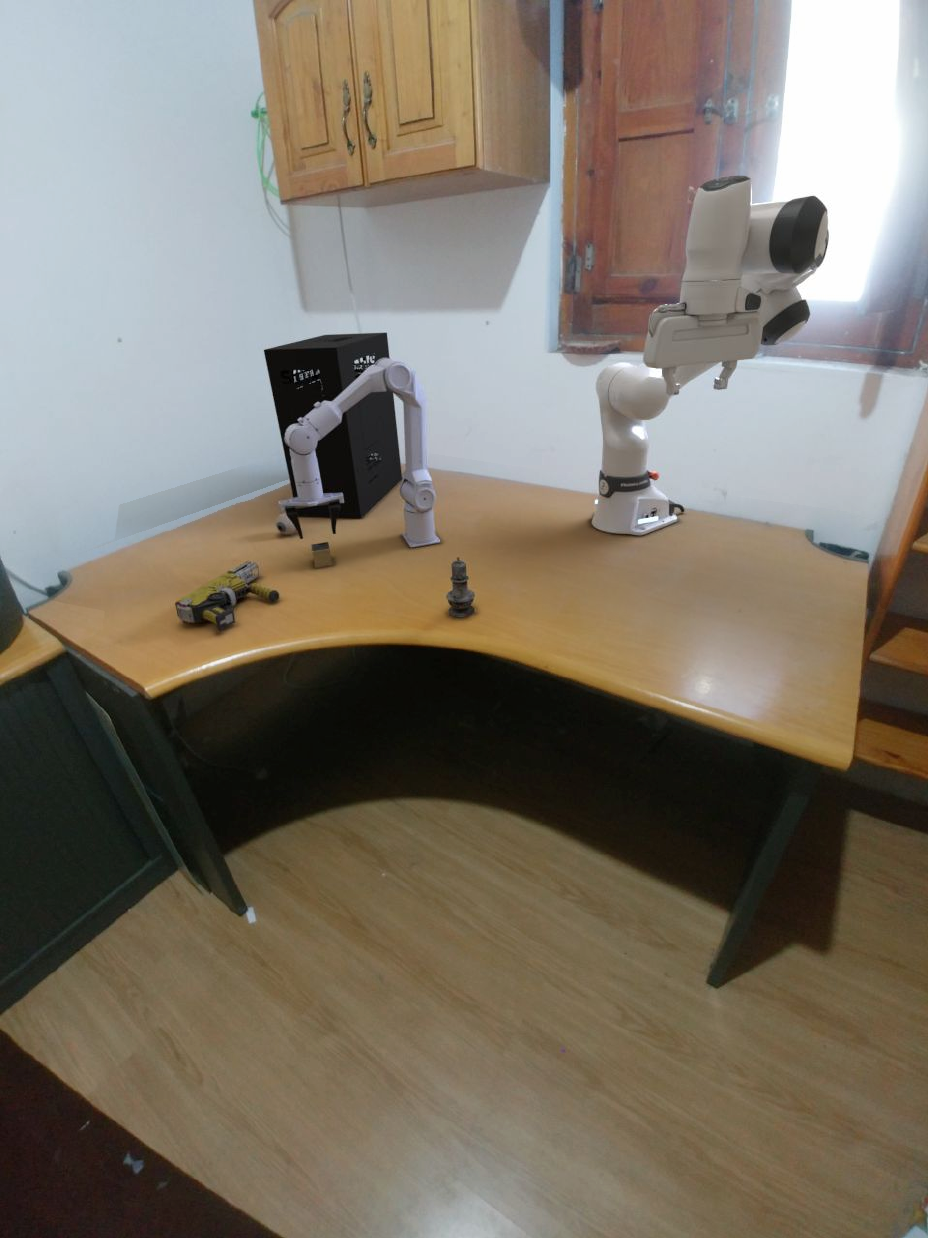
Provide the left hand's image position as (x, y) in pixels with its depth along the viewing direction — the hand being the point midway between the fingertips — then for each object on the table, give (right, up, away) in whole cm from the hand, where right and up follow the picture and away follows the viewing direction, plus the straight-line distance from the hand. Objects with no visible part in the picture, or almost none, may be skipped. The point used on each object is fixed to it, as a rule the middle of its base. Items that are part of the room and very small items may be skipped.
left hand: (317, 535), depth 144 cm
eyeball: (-13, +3, +22) cm, 25 cm away
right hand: (+75, +19, -40) cm, 87 cm away
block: (0, -6, +4) cm, 7 cm away
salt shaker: (+34, -19, -21) cm, 44 cm away
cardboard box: (0, +19, +47) cm, 51 cm away
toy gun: (-13, -17, -13) cm, 25 cm away
